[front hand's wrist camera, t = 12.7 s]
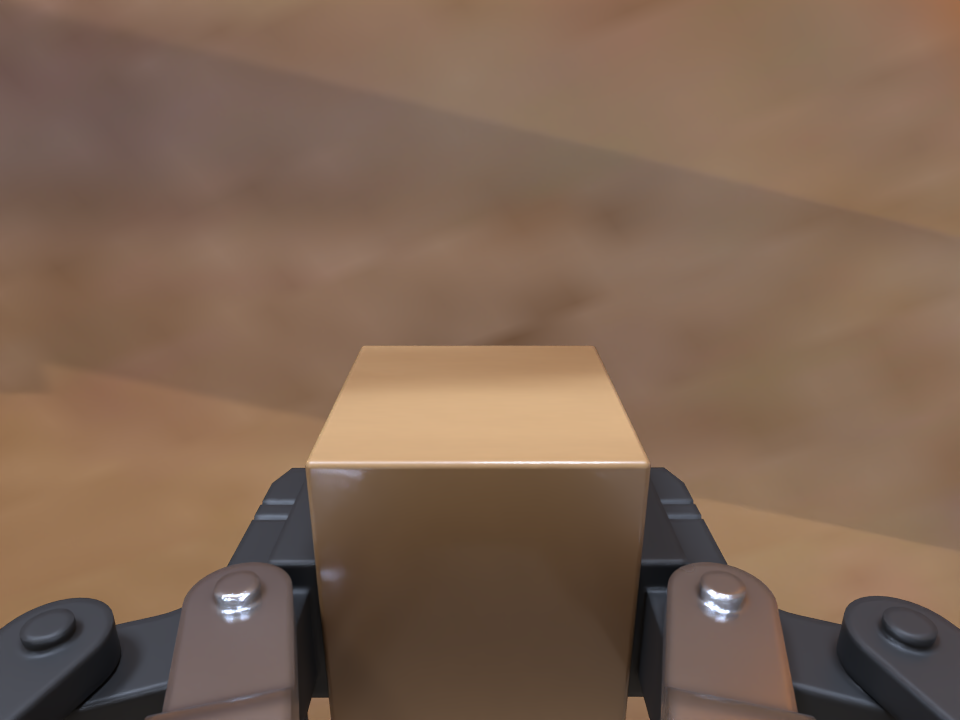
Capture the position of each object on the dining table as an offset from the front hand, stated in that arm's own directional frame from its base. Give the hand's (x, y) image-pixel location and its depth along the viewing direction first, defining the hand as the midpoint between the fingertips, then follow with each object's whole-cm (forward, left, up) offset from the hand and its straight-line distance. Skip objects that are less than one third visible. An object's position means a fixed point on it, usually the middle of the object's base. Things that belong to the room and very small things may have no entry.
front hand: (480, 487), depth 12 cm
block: (0, 0, 0) cm, 0 cm away
